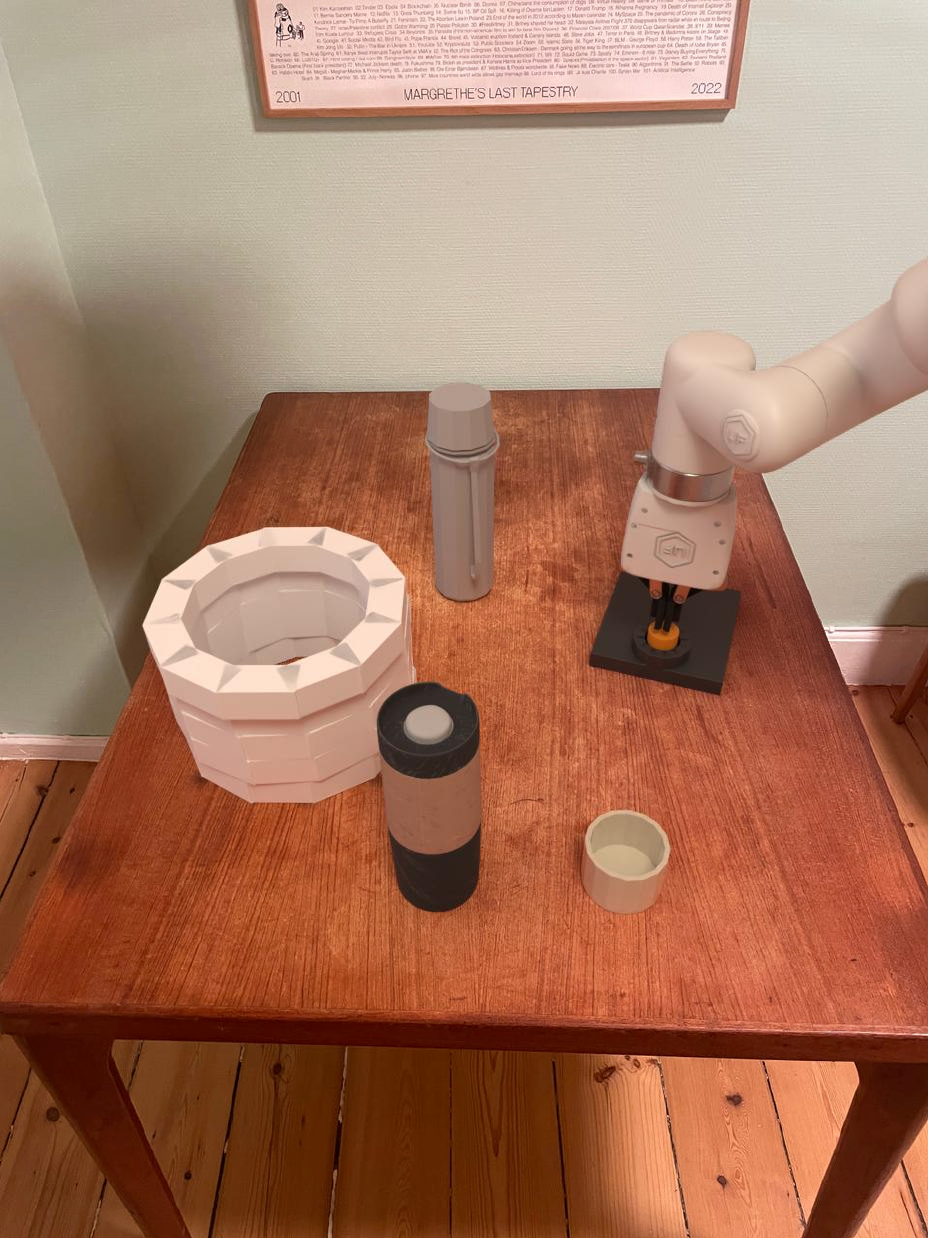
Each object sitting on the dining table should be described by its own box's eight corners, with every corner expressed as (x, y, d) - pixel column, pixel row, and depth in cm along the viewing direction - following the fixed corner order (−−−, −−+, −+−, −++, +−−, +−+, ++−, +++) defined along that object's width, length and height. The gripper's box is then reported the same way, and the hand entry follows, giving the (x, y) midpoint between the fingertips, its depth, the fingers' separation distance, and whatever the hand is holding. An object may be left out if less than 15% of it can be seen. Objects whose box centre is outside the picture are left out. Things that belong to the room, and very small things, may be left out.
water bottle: (425, 575, 110) (414, 386, 94) (485, 562, 112) (485, 375, 95) (446, 621, 103) (438, 426, 87) (510, 607, 105) (514, 414, 89)
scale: (738, 603, 105) (744, 580, 102) (719, 696, 93) (725, 671, 91) (620, 580, 108) (623, 556, 106) (588, 666, 97) (591, 642, 95)
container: (413, 813, 82) (402, 689, 72) (159, 819, 82) (111, 696, 72) (419, 634, 101) (411, 515, 91) (212, 638, 101) (181, 521, 91)
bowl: (668, 857, 78) (676, 822, 75) (653, 924, 73) (661, 890, 70) (591, 836, 80) (596, 800, 77) (572, 900, 75) (576, 865, 72)
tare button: (679, 634, 96) (681, 623, 95) (674, 653, 94) (676, 642, 93) (650, 628, 97) (651, 617, 96) (644, 647, 95) (645, 636, 94)
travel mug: (404, 926, 74) (386, 767, 61) (385, 850, 79) (365, 691, 66) (493, 903, 75) (493, 743, 62) (468, 830, 81) (464, 671, 68)
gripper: (601, 478, 81) (585, 629, 93) (770, 507, 77) (731, 662, 89) (619, 439, 86) (602, 587, 98) (778, 464, 82) (740, 615, 94)
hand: (664, 622), depth 94 cm, fingers closed
